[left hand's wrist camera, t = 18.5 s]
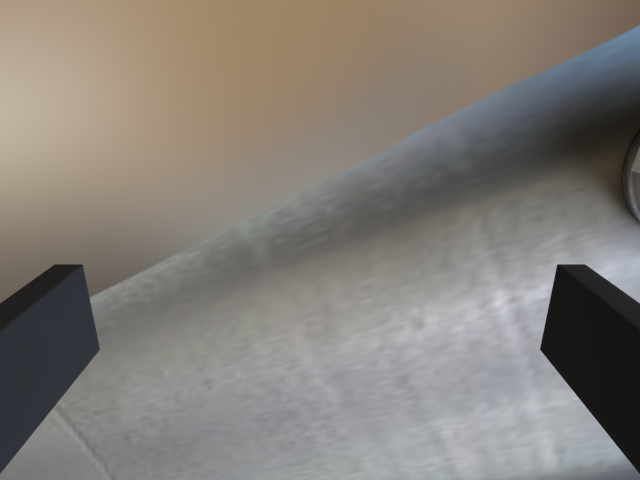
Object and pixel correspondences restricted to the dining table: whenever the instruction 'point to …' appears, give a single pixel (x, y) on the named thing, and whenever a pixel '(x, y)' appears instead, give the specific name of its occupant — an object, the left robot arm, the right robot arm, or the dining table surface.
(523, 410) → the dining table surface
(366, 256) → the dining table surface
